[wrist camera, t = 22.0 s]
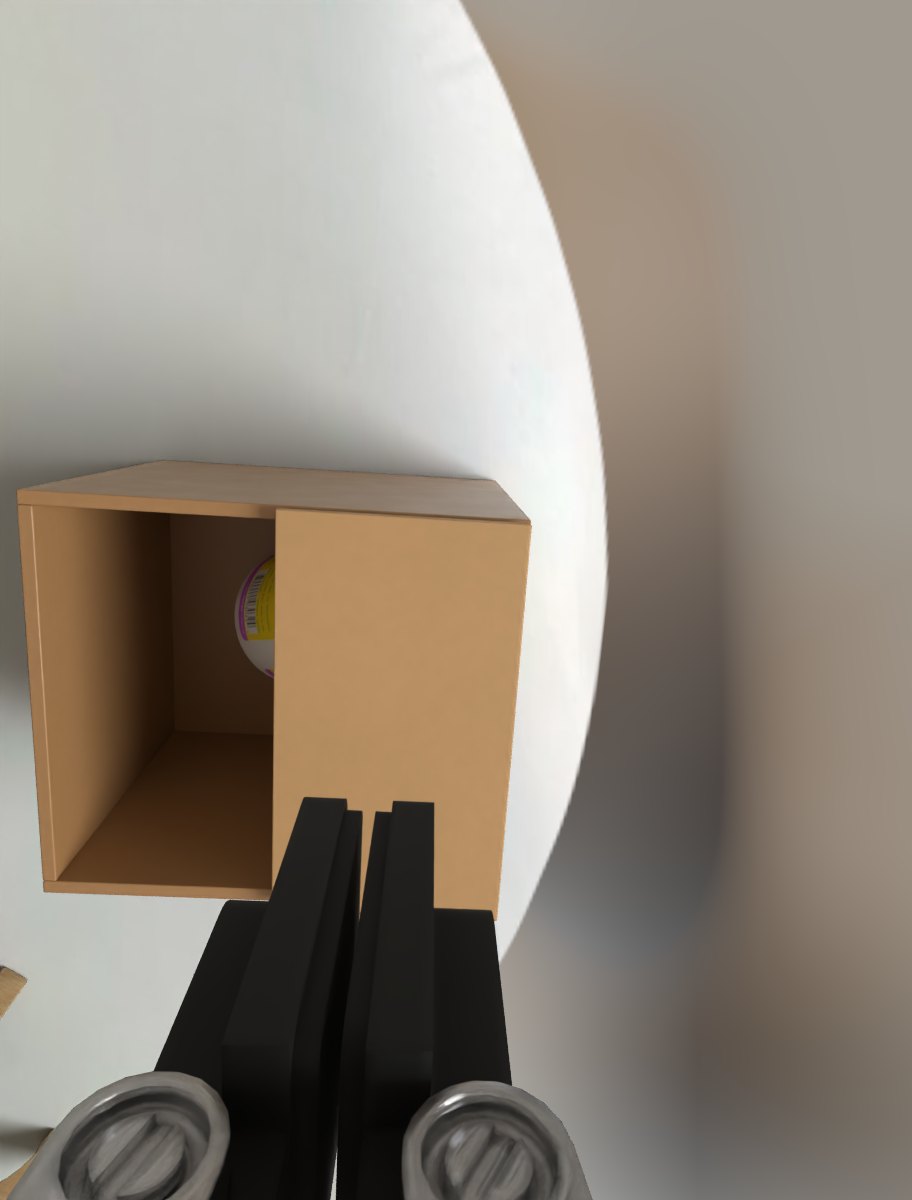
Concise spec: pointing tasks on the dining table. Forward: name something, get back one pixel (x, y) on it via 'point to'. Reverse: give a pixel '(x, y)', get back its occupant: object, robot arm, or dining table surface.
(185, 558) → the carton
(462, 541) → the flap
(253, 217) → the dining table surface
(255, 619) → the supplement bottle
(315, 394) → the dining table surface
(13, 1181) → the planter
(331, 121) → the dining table surface
